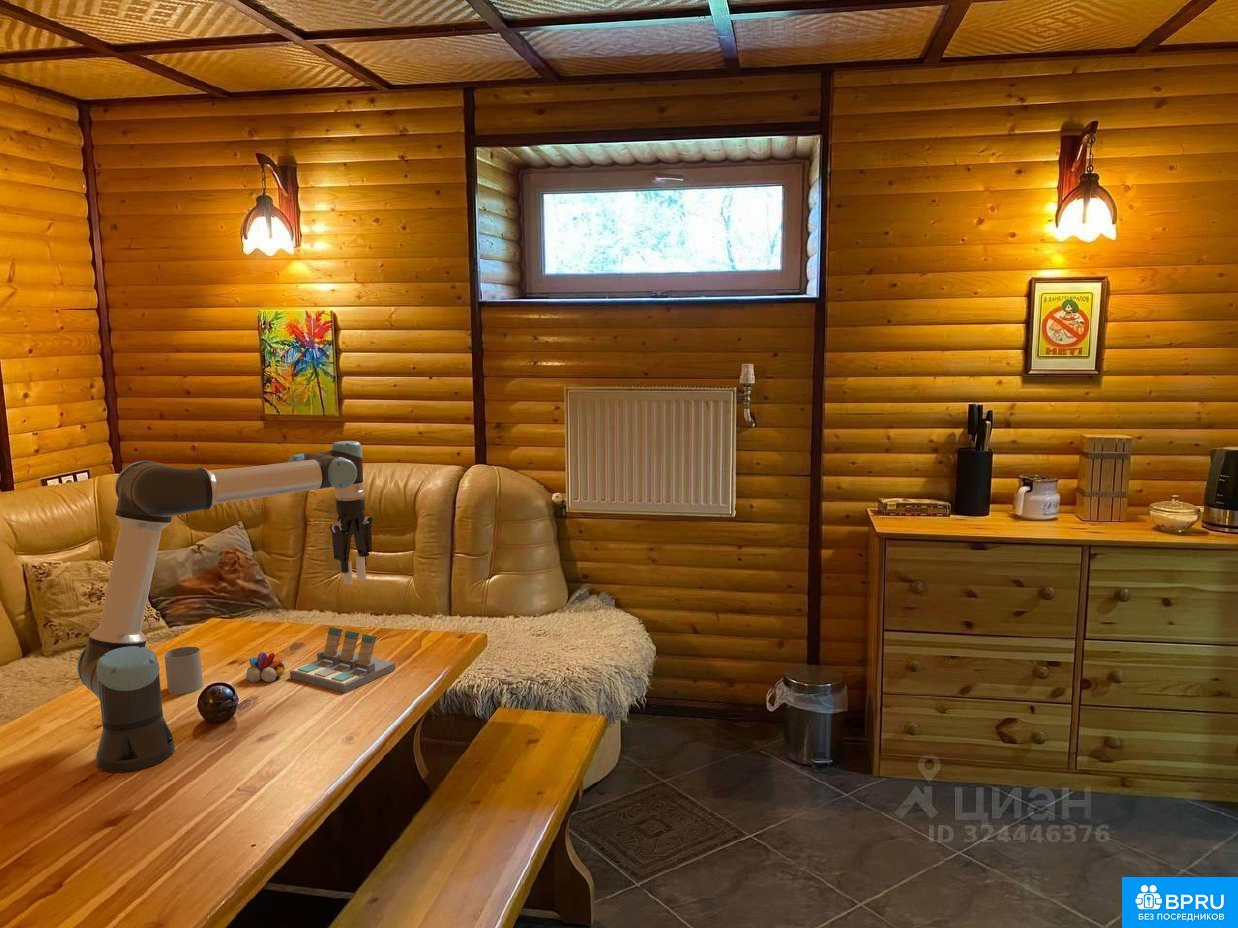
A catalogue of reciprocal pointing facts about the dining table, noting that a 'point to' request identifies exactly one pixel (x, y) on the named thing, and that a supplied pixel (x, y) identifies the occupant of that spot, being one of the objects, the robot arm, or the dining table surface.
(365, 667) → the lever
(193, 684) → the cup
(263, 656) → the rainbow disc wheeled toy
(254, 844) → the dining table surface
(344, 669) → the switch board
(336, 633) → the lever
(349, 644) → the lever
